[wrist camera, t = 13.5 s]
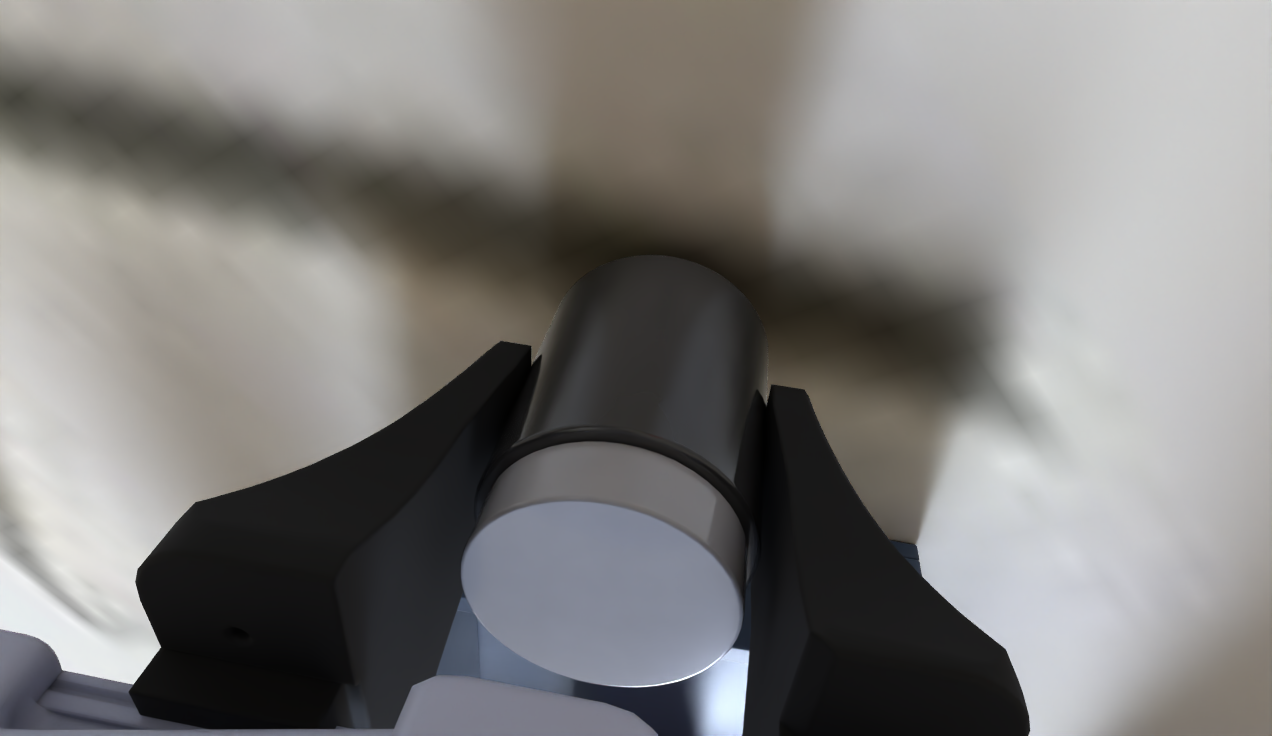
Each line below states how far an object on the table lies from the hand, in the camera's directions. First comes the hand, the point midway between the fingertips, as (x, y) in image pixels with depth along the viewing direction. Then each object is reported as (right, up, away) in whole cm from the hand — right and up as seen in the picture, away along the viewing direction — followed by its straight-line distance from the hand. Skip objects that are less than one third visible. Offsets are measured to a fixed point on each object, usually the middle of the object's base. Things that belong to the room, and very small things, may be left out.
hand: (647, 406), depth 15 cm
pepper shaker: (0, +1, +2) cm, 2 cm away
